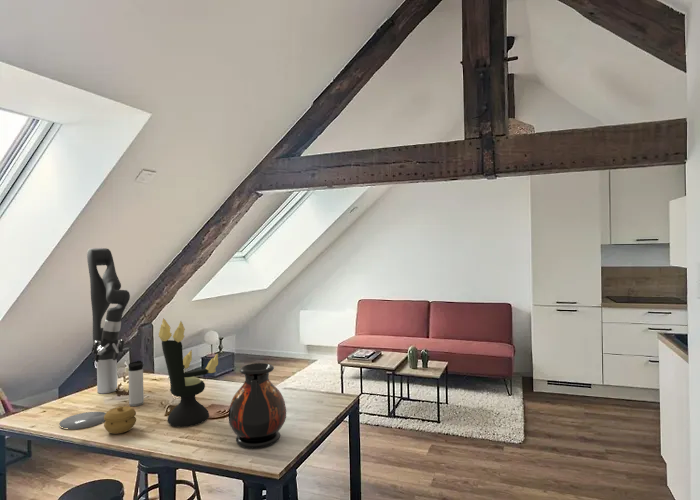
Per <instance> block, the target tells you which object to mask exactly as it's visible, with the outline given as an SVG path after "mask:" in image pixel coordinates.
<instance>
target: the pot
mask: <svg viewBox="0 0 700 500" xmlns="http://www.w3.org/2000/svg"><path fill="white" fill-rule="evenodd" d="M105 413H106V414H105V416H104V420H105V421H104V422H103V423H104V424H103V427H104V428H105V430H106V431H107V432H108V433H110V434H113V435H114V434H115V435H117V434H123V433H126V432H128V431H130V430H131V429H132V428H133V427H134V426H135V424H136V423H137V417H136V415H137V412H136V410H135V408H133V407H132V406H129V405H128V406H125V405H124V406H118V407H113V408H111V409H109V410H108V411H107V412H105Z"/></svg>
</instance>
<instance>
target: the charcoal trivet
mask: <svg viewBox="0 0 700 500" xmlns="http://www.w3.org/2000/svg"><path fill="white" fill-rule="evenodd" d="M106 413H107V412H104V411H87V412H82V413H77V414H72V415H71V416H68V417H65V418H63V419H62V420H61V421H59V425H60V426H61V427H63V428H68V429H76V430H80V429H79V428H83V429H86V428H85V427H88V428H91V427H90V426H92V427H95V426H98V425H100V424H103V423H105V422H106V421H105V420H104V416H105V414H106ZM102 422H103V423H102ZM60 426H59V427H60Z"/></svg>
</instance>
